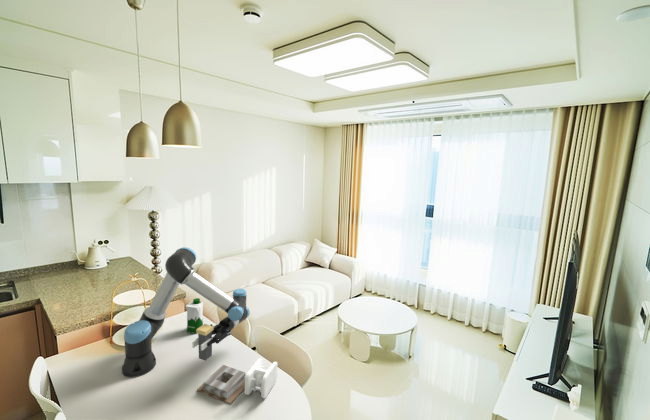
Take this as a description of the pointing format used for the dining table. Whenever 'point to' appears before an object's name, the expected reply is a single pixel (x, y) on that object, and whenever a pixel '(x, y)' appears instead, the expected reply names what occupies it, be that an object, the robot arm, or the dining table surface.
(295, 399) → the dining table surface
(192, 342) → the robot arm
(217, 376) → the socket
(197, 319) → the milk carton
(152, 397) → the dining table surface
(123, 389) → the dining table surface
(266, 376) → the cable organizer
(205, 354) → the plug
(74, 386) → the dining table surface
